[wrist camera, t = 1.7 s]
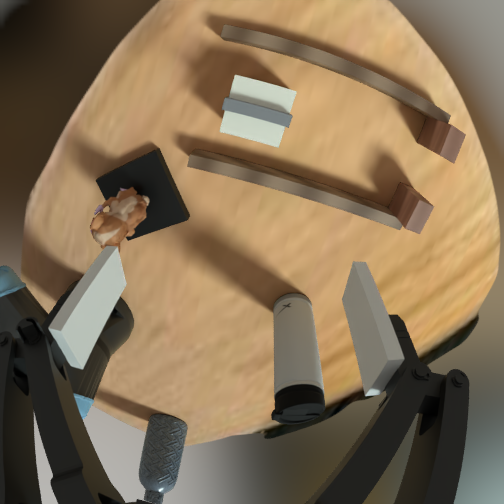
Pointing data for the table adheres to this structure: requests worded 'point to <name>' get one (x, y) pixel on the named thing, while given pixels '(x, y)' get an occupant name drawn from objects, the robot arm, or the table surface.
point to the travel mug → (296, 362)
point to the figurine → (137, 201)
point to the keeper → (257, 110)
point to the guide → (397, 214)
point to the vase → (161, 456)
